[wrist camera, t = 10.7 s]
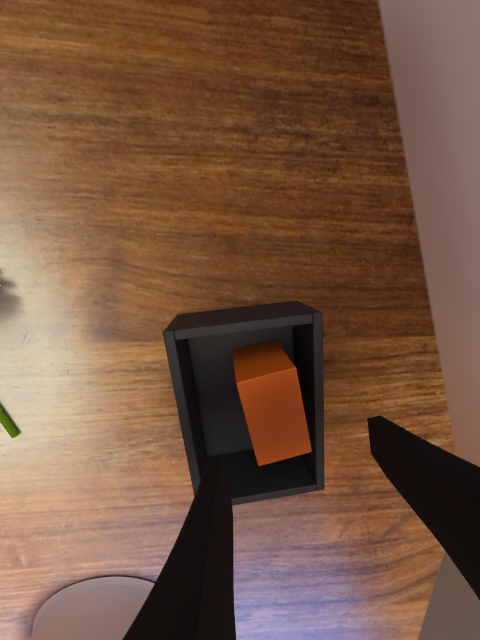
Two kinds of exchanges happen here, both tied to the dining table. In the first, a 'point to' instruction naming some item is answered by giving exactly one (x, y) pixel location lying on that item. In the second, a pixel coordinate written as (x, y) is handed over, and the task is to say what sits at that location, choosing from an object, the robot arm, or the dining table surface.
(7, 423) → the decorative flower
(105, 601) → the vase
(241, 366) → the block
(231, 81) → the dining table surface
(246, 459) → the open box
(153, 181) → the dining table surface
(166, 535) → the dining table surface
